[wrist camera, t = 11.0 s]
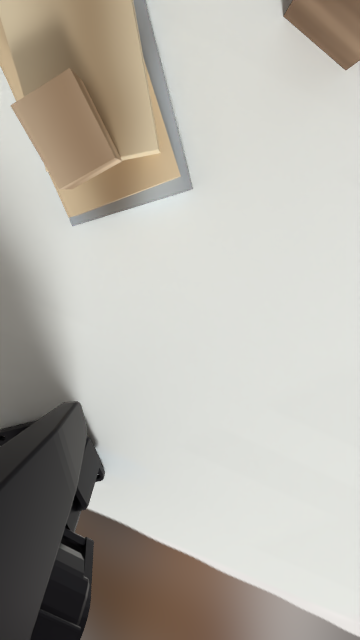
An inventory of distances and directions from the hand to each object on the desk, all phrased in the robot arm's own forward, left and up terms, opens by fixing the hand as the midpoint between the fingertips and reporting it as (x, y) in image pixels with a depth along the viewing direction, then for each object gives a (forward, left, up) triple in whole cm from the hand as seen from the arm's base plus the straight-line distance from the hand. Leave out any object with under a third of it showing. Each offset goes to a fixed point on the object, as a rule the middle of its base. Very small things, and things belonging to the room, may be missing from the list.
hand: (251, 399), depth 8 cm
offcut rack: (-3, +11, -13) cm, 17 cm away
